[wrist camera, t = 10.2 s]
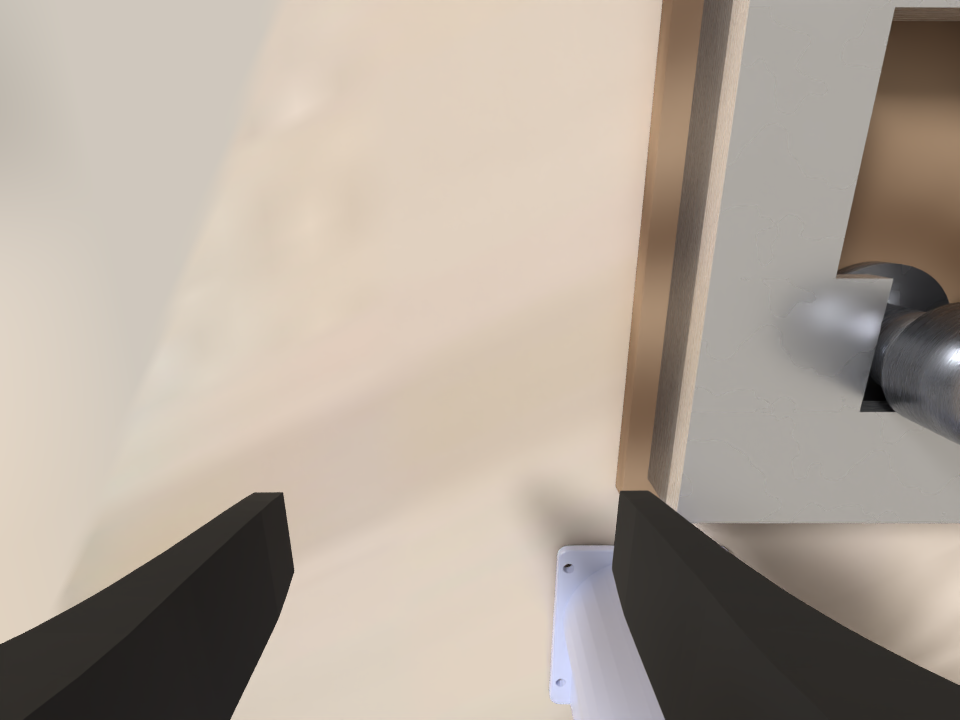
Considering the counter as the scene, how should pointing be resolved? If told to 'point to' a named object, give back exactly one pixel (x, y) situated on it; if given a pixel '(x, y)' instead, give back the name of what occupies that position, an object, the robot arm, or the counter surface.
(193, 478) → the counter surface
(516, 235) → the counter surface
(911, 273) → the dark grey knob
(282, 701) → the counter surface
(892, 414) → the keyhole plate
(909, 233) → the keyhole board
